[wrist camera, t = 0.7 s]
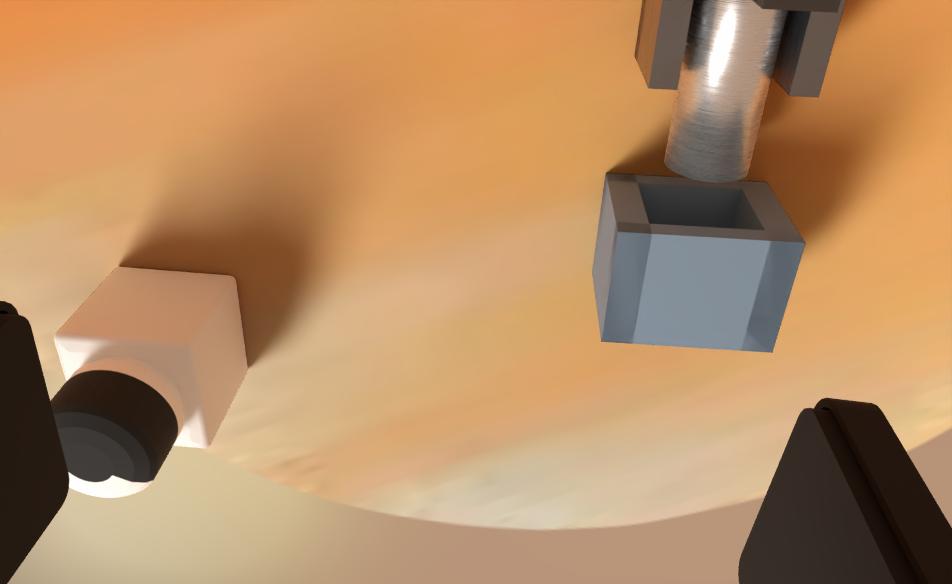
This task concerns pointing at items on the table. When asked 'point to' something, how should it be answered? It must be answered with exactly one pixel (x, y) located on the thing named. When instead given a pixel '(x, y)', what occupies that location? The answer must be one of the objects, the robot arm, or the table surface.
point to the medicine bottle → (145, 374)
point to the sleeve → (795, 62)
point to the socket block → (693, 263)
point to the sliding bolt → (726, 84)
